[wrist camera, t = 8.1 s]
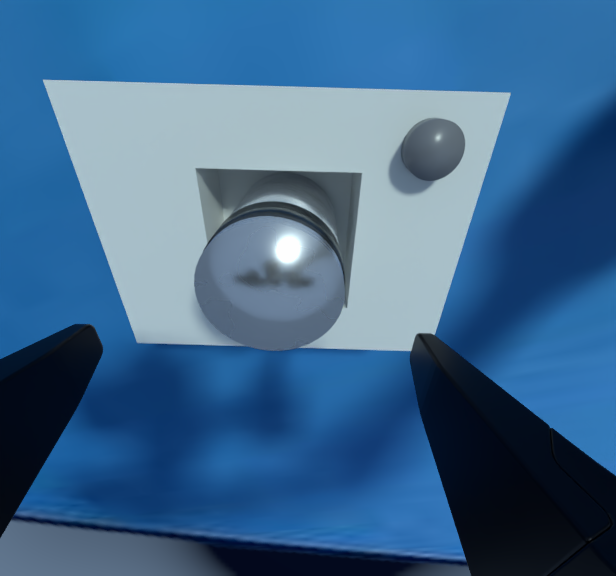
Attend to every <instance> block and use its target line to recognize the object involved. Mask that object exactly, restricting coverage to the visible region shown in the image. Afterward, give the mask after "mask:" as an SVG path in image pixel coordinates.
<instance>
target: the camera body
mask: <svg viewBox="0 0 616 576" xmlns="http://www.w3.org/2000/svg"><path fill="white" fill-rule="evenodd" d="M43 81H44V84H45V87H46V90H47V93H48V95H49V98H50V101H51V104H52V106H53V109H54V112H55V115H56V118H57V120H58V123H59V126H60V129H61V132H62V134H63V137H64V140H65V143H66V145H67V148H68V151H69V154H70V157H71V159H72V162H73V165H74V168H75V171H76V173H77V176H78V179H79V182H80V185H81V187H82V190H83V193H84V196H85V198H86V201H87V204H88V207H89V210H90V212H91V215H92V218H93V221H94V224H95V226H96V229H97V232H98V235H99V237H100V240H101V243H102V246H103V249H104V251H105V254H106V257H107V260H108V263H109V265H110V268H111V271H112V274H113V276H114V279H115V282H116V285H117V288H118V290H119V293H120V296H121V299H122V302H123V304H124V307H125V310H126V313H127V315H128V318H129V321H130V324H131V327H132V329H133V332H134V335H135V338H136V341H137V343H157V344H191V345H224V346H245V345H243V344H240V343H238V342H236V341H234V340H232V339H230V338H229V337H227V336H226V335H224V334H223V333H221V332H220V331H219V330H218V329H217V328H215V326H214V325H213V324H212V323H211V322H210V321H209V320H208V319H207V317H206V316H205V315H204V313H203V311H202V310H201V308H200V305H199V303H198V301H197V297H196V294H195V287H194V275H195V270H196V266H197V263H198V260H199V258H200V256H201V255H202V253H203V250H204V248H205V247H206V245H207V243H208V242H209V240H210V239H211V238H212V236H213V235H214V234H215V232H216V231H217V230H218V228H219V227H220V226H221V224H222V223H223V222H224V221H225V220H226V219H227V218H228V217H229V216H230V214H231V213H232V212H233V210H234V209H235V208H236V206H237V205H238V204H239V202H240V201H241V199H242V198H243V197H244V195H245V194H246V193H247V191H248V190H249V189H250V188H251V186H253V185H254V184H255V183H256V182H257V181H259V180H260V179H262V178H264V177H266V176H268V175H271V174H274V173H280V172H289V173H296V174H300V175H303V176H305V177H308V178H309V179H311V180H313V181H314V182H316V183H317V184H318V185H319V186H320V187H321V188H322V189H323V190H324V191H325V192H326V194H327V195H328V197H329V198H330V200H331V203H332V205H333V208H334V213H335V220H336V227H337V234H338V241H339V246H340V250H341V254H342V260H343V267H344V274H345V299H344V305H343V308H342V311H341V314H340V315H339V317H338V319H337V321H336V322H335V324H334V325H333V326H332V328H331V329H330V330H329V331H328V332H327V333H325V334H324V335H323V336H322V337H320V338H319V339H317V340H315V341H314V342H312V343H310V344H307V345H305V346H302V347H299V348H326V349H360V350H393V351H411V350H412V346H413V342H414V339H415V336H416V334H418V333H431V334H433V335H435V332H436V329H437V326H438V323H439V320H440V317H441V313H442V310H443V307H444V304H445V301H446V298H447V294H448V291H449V288H450V285H451V282H452V278H453V275H454V272H455V269H456V266H457V263H458V259H459V256H460V253H461V250H462V247H463V244H464V240H465V237H466V234H467V231H468V228H469V225H470V221H471V218H472V215H473V212H474V209H475V206H476V202H477V199H478V196H479V193H480V190H481V186H482V183H483V180H484V177H485V174H486V171H487V167H488V164H489V161H490V158H491V155H492V152H493V148H494V145H495V142H496V139H497V136H498V133H499V129H500V126H501V123H502V120H503V117H504V114H505V110H506V107H507V104H508V101H509V98H510V95H511V93H498V92H462V91H426V90H390V89H354V88H318V87H282V86H247V85H211V84H175V83H139V82H103V81H67V80H43Z"/></svg>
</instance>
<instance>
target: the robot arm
mask: <svg viewBox="0 0 616 576" xmlns="http://www.w3.org/2000/svg"><path fill="white" fill-rule="evenodd" d="M102 353H103V346H102V343H101V341H100V339H99V337H98V334H97V332H96V330H95V328H94V327H93V326H92V325H90V324H74V325H72V326H70V327H68V328H65V329H63V330H61V331H59V332H57V333H55V334H53V335H51V336H49V337H46V338H44V339H42V340H40V341H38V342H36V343H34V344H32V345H29V346H27V347H25V348H23V349H21V350H19V351H17V352H15V353H13V354H10V355H8V356H6V357H4V358H2V359H0V538H1V536H2V534H3V533H4V531H5V529H6V528H7V526H8V524H9V522H10V521H11V519H12V517H13V516H14V514H15V512H16V511H17V509H18V507H19V505H20V504H21V502H22V500H23V499H24V497H25V495H26V494H27V492H28V490H29V489H30V487H31V485H32V483H33V482H34V480H35V478H36V477H37V475H38V473H39V472H40V470H41V468H42V466H43V465H44V463H45V461H46V460H47V458H48V456H49V455H50V453H51V451H52V450H53V448H54V446H55V444H56V443H57V441H58V439H59V438H60V436H61V434H62V433H63V431H64V429H65V427H66V426H67V424H68V422H69V421H70V419H71V417H72V416H73V414H74V412H75V410H76V409H77V407H78V405H79V403H80V401H81V399H82V397H83V395H84V393H85V391H86V388H87V386H88V384H89V382H90V380H91V378H92V375H93V373H94V371H95V369H96V367H97V365H98V362H99V360H100V358H101V356H102ZM410 364H411V369H412V375H413V380H414V385H415V390H416V395H417V400H418V405H419V410H420V414H421V418H422V421H423V424H424V428H425V431H426V434H427V437H428V440H429V443H430V447H431V450H432V453H433V456H434V459H435V462H436V466H437V469H438V472H439V475H440V478H441V481H442V485H443V488H444V491H445V494H446V497H447V500H448V504H449V507H450V510H451V513H452V516H453V519H454V523H455V526H456V529H457V532H458V535H459V538H460V542H461V545H462V548H463V551H464V554H465V557H466V561H467V564H468V567H469V570H470V573H471V576H616V476H615V475H614V474H612V473H611V472H610V471H608V470H607V469H606V468H604V467H603V466H601V465H600V464H599V463H597V462H596V461H595V460H593V459H592V458H591V457H589V456H588V455H587V454H585V453H584V452H583V451H581V450H580V449H579V448H577V447H576V446H575V445H574V444H572V443H571V442H570V441H568V440H567V439H566V438H565V437H563V436H562V435H561V434H559V433H558V432H557V431H556V430H554V429H553V428H550V427H549V425H548V424H547V423H545V422H544V421H543V420H542V419H540V418H539V417H538V416H536V415H535V414H534V413H533V412H531V411H530V410H529V409H528V408H526V407H525V406H524V405H522V404H521V403H520V402H519V401H517V400H516V399H515V398H514V397H512V396H511V395H510V394H508V393H507V392H506V391H505V390H503V389H502V388H501V387H500V386H498V385H497V384H496V383H495V382H493V381H492V380H491V379H489V378H488V377H487V376H486V375H484V374H483V373H482V372H481V371H479V370H478V369H477V368H475V367H474V366H473V365H472V364H470V363H469V362H468V361H467V360H465V359H464V358H463V357H462V356H460V355H459V354H458V353H456V352H455V351H454V350H453V349H451V348H450V347H449V346H448V345H446V344H445V343H444V342H442V341H441V340H440V339H439V338H437V337H436V336H435V335H433V334H431V333H418V334H416V336H415V339H414V342H413V346H412V350H411V354H410Z"/></svg>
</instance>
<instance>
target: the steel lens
mask: <svg viewBox="0 0 616 576" xmlns="http://www.w3.org/2000/svg"><path fill="white" fill-rule="evenodd" d="M194 287H195V294H196V297H197V301H198V303H199V305H200V308H201V310H202V311H203V313H204V315H205V316H206V317H207V319H208V320H209V321H210V322H211V323H212V324H213V325H214V326H215V328H217V329H218V330H219V331H220V332H221V333H223V334H224V335H226V336H227V337H229V338H230V339H232V340H234V341H236V342H238V343H240V344H243V345H245V346H249V347H252V348H256V349H261V350H270V351H282V350H290V349H295V348H299V347H302V346H305V345H307V344H310V343H312V342H314V341H315V340H317V339H319V338H320V337H322V336H323V335H324V334H325V333H327V332H328V331H329V330H330V329H331V328H332V326H333V325H334V324H335V322H336V321H337V319H338V317H339V315H340V314H341V311H342V308H343V305H344V299H345V274H344V267H343V260H342V254H341V250H340V246H339V241H338V234H337V227H336V220H335V213H334V208H333V205H332V203H331V200H330V198H329V197H328V195H327V194H326V192H325V191H324V190H323V189H322V188H321V187H320V186H319V185H318V184H317V183H316V182H314V181H313V180H311V179H309V178H308V177H305V176H303V175H300V174H296V173H289V172H280V173H274V174H271V175H268V176H266V177H264V178H262V179H260V180H259V181H257V182H256V183H255V184H254V185H253V186H251V188H250V189H249V190H248V191H247V193H246V194H245V195H244V197H243V198H242V199H241V201H240V202H239V204H238V205H237V206H236V208H235V209H234V210H233V212H232V213H231V214H230V216H229V217H228V218H227V219H226V220H225V221H224V222H223V223H222V224H221V226H220V227H219V228H218V230H217V231H216V232H215V234H214V235H213V236H212V238H211V239H210V240H209V242H208V243H207V245H206V247H205V248H204V250H203V253H202V255H201V256H200V258H199V260H198V263H197V266H196V270H195V275H194Z"/></svg>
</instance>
